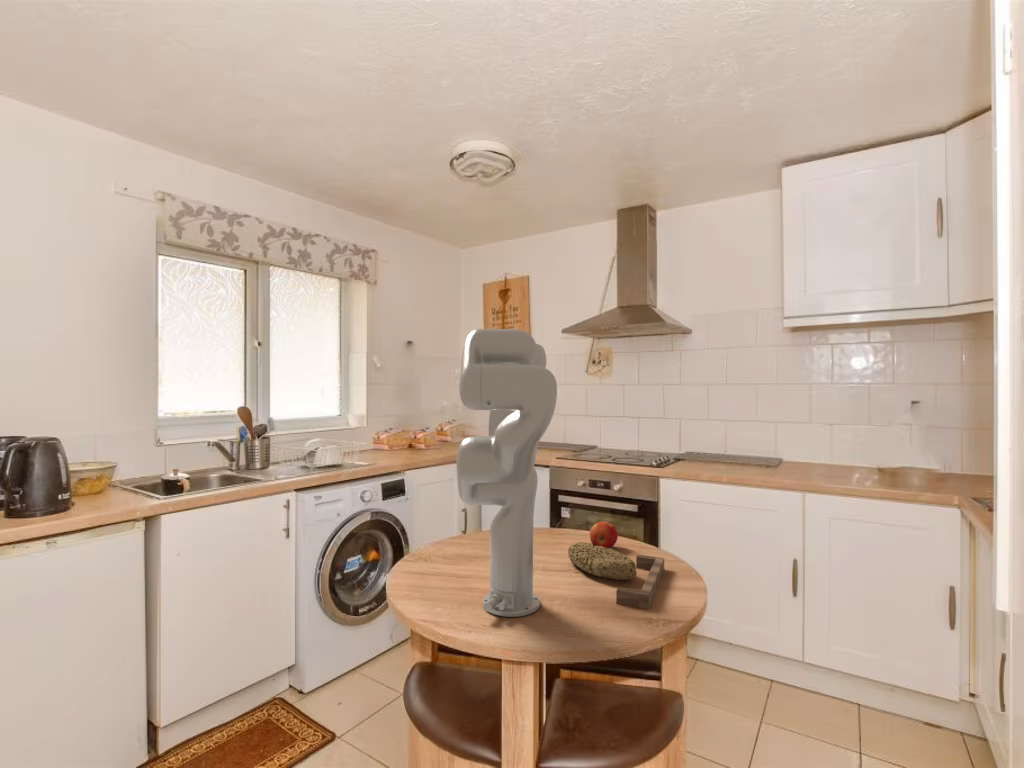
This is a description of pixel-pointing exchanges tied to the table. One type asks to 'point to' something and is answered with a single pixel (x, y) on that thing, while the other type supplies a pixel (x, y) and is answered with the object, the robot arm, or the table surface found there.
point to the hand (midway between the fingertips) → (507, 466)
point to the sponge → (602, 561)
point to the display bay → (648, 590)
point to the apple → (603, 534)
